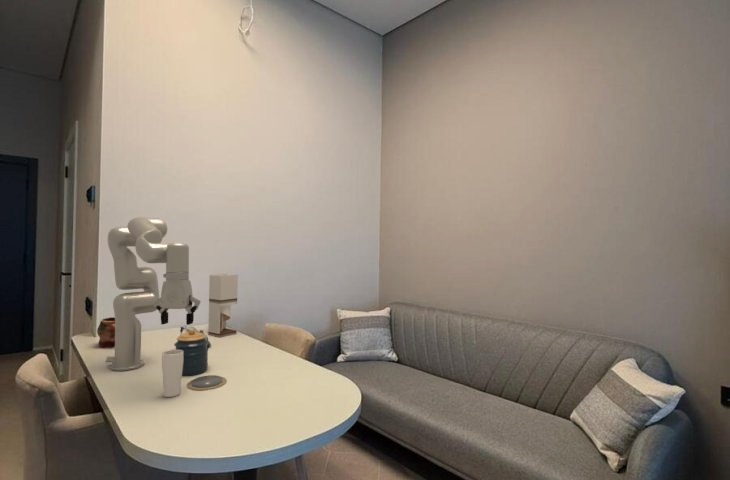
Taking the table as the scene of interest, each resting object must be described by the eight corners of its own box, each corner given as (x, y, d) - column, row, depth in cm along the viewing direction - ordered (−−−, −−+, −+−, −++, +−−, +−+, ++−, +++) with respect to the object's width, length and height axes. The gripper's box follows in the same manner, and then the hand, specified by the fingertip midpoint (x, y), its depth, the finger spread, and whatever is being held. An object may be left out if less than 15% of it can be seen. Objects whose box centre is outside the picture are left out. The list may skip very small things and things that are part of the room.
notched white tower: (219, 337, 214) (221, 275, 214) (208, 335, 220) (209, 274, 220) (236, 333, 223) (237, 274, 224) (225, 331, 229) (226, 273, 230)
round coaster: (180, 390, 137) (180, 387, 137) (196, 376, 151) (196, 373, 151) (219, 390, 137) (219, 387, 137) (231, 377, 151) (231, 374, 151)
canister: (173, 378, 149) (174, 333, 149) (173, 368, 161) (174, 327, 161) (209, 373, 155) (210, 330, 155) (206, 364, 167) (207, 324, 167)
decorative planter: (131, 347, 191) (132, 319, 192) (103, 352, 182) (104, 323, 182) (118, 340, 204) (119, 314, 204) (91, 344, 195) (92, 317, 195)
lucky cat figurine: (214, 348, 192) (206, 327, 186) (190, 361, 186) (181, 339, 179) (204, 334, 203) (196, 314, 196) (181, 346, 196) (172, 325, 190)
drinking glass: (173, 399, 129) (174, 355, 129) (156, 397, 130) (157, 354, 131) (186, 392, 136) (187, 350, 136) (170, 390, 137) (171, 348, 137)
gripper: (148, 277, 136) (148, 325, 135) (194, 277, 134) (193, 326, 133) (161, 276, 143) (161, 321, 143) (205, 276, 141) (205, 322, 141)
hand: (177, 323), depth 138 cm, fingers open, 9 cm apart
